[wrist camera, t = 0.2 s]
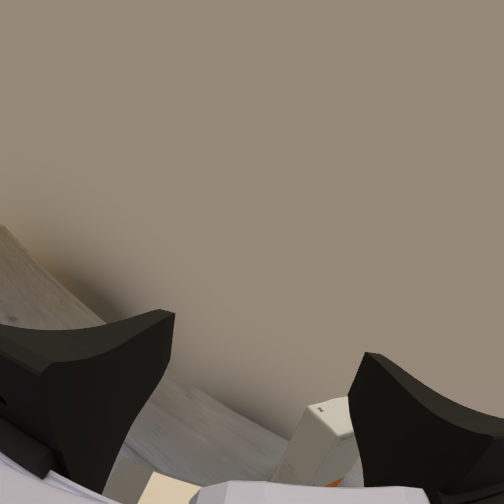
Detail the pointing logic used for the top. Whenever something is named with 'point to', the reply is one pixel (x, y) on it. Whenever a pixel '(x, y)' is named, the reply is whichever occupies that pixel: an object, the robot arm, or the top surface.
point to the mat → (131, 482)
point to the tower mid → (167, 491)
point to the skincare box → (320, 447)
